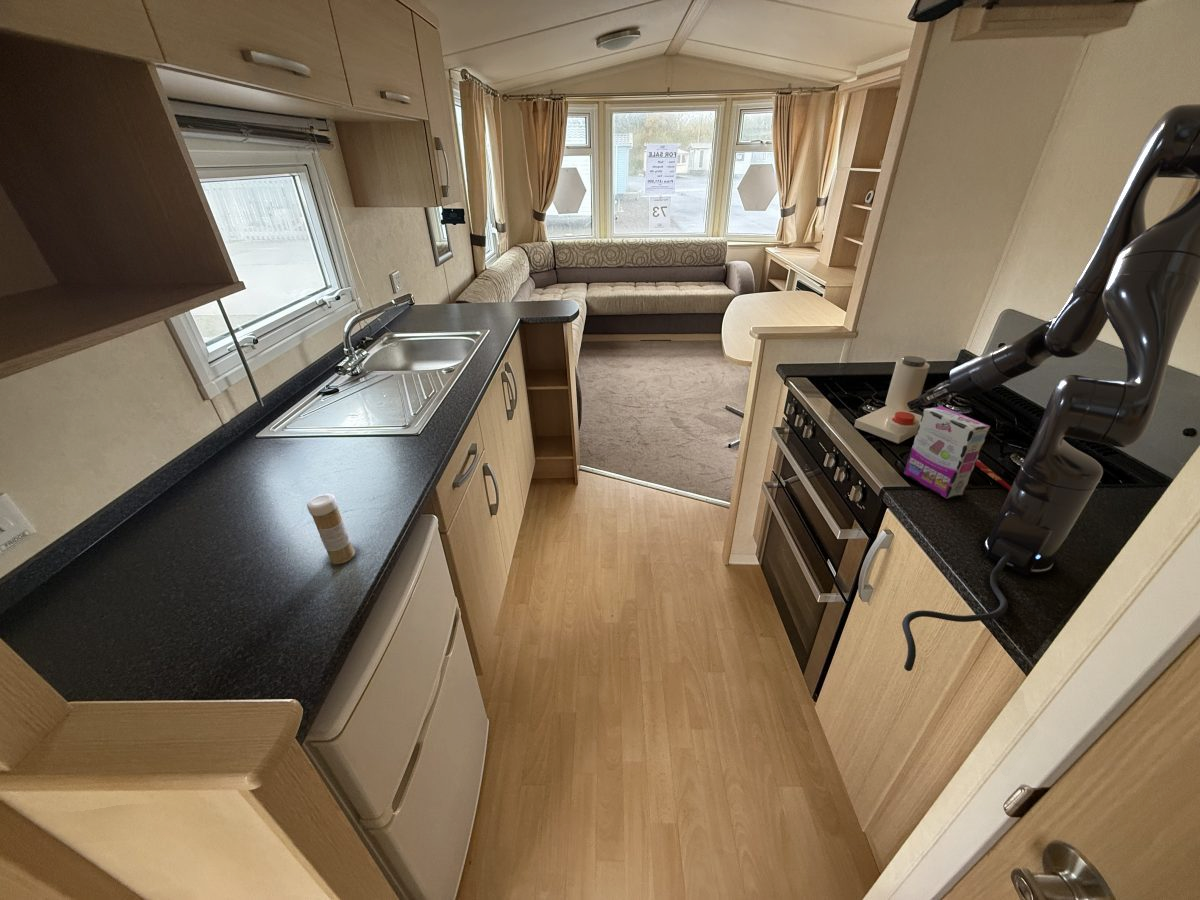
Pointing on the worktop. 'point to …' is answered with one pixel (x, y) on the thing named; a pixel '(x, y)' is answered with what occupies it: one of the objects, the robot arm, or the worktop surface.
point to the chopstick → (992, 474)
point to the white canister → (907, 382)
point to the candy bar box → (945, 451)
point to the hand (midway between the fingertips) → (910, 406)
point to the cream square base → (888, 425)
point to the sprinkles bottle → (331, 528)
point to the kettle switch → (904, 418)
